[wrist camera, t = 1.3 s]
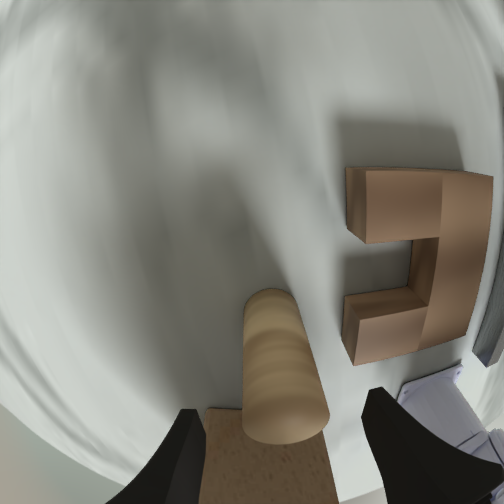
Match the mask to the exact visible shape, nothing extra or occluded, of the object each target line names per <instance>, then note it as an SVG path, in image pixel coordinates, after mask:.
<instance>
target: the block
mask: <svg viewBox="0 0 504 504" xmlns="http://www.w3.org/2000/svg"><path fill="white" fill-rule="evenodd" d="M345 169H346V193H347V229H348V230H349V231H350V232H352V233H353V234H354V235H355V236H357V237H358V238H359V239H360V240H362V241H363V242H364V243H365V244H371V243H382V242H392V241H402V240H412V239H413V244H412V255H411V264H410V272H409V280H408V286H406V287H400V288H394V289H388V290H382V291H376V292H369V293H362V294H355V295H348V296H345V302H344V316H343V327H342V338H341V340H342V342H343V344H344V347H345V349H346V351H347V353H348V355H349V357H350V360H351V362H352V364H353V366H357V365H362V364H366V363H371V362H376V361H380V360H384V359H388V358H392V357H396V356H400V355H404V354H408V353H411V352H415V351H419V350H422V349H425V348H429V347H432V346H435V345H438V344H442V343H445V342H448V341H451V340H454V339H456V338H459V337H462V336H465V335H466V332H467V329H468V326H469V322H470V319H471V316H472V313H473V309H474V306H475V302H476V298H477V294H478V290H479V286H480V282H481V277H482V273H483V268H484V263H485V257H486V251H487V245H488V238H489V230H490V222H491V211H492V197H493V176H488V175H483V174H478V173H473V172H467V171H457V170H443V169H425V168H392V167H353V168H345Z"/></svg>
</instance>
